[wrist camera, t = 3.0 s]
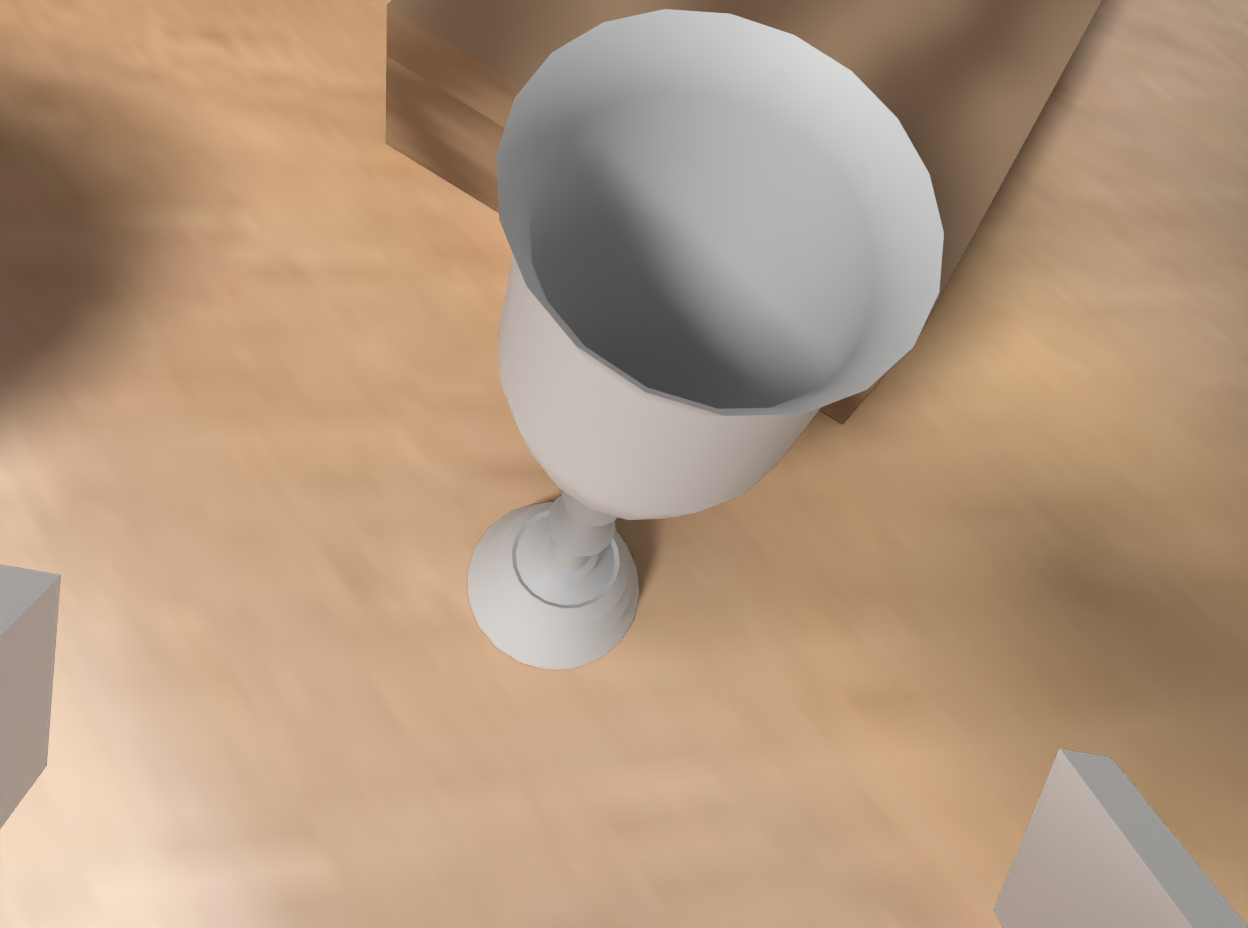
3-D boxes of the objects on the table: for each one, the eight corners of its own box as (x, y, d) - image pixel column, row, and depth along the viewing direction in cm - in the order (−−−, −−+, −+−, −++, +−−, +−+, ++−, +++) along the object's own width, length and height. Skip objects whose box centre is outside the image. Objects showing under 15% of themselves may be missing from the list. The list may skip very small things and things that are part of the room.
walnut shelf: (1056, 42, 47) (1144, -79, 41) (842, 424, 37) (922, 329, 31) (691, -172, 48) (730, -317, 42) (385, 143, 38) (387, 5, 32)
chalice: (452, 454, 33) (520, -29, 17) (672, 483, 34) (928, 53, 18) (420, 696, 30) (467, 379, 14) (663, 720, 31) (962, 450, 15)
